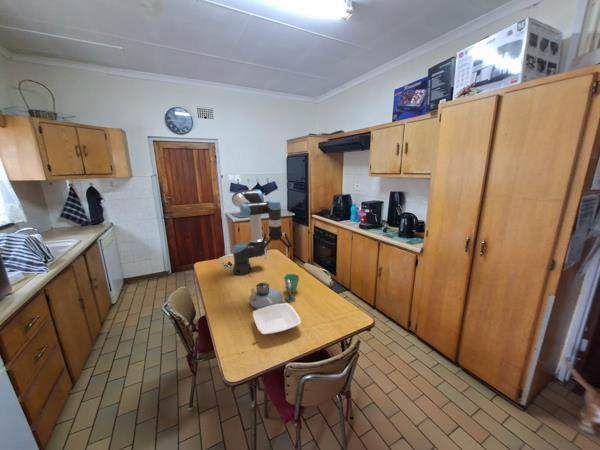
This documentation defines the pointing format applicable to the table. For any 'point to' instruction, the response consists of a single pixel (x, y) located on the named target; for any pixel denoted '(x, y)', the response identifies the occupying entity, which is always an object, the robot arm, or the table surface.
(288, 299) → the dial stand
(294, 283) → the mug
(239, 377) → the table surface
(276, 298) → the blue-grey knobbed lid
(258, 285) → the cover
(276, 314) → the bowl
